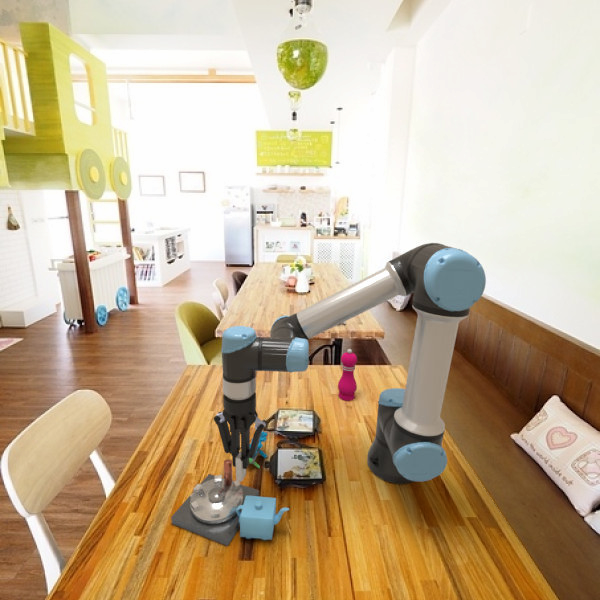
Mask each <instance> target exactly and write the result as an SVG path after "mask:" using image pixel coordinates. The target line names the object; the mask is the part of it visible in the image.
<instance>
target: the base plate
mask: <svg viewBox="0 0 600 600" xmlns="http://www.w3.org/2000/svg"><path fill="white" fill-rule="evenodd" d="M215 476H216V475H214V474H210V473H209V474H207V475H206V477H205V478H204V479H203V480H202V481H201V482H200V483H199V484H200V485H201V484H203V483H204V482H206V481H209V480H212V479H214V477H215ZM241 488H242V491H243V503H242V505H243V504H244V501H245V497H246V495H248V496H260V490H259V489H256V488H253V487H250V486H248V485H244V484H241ZM192 494H193V492H192V493H191V494H190V495H189V496H188V497H187V499H185V501H183V503H182V504H181V505H180V506H179V507H178V508H177V510H176V511H175V512H174V513H173V514H172V516H171V517H170V518H171V524H172V525H173V526H176V527H179V528H180V529H183V530H186V531H189V532H192V533H194V534H197V535H198V536H201V537H203V538H206V539H208V540H211V541H214V542H216V543H218V544H221V545H224V546H225V547H228V546H229V544H230V543H231V542H232V540H233V538H234V537H235V536H236V534H237V532H238V531H239V530H240V528H239V527H240V523H239V518H240V517H239V516H238V515H237V514H236V515H235V516H233V517H232V518H230V519H229V520H227V521H224V522H221V523H216V524H208V523H203V522H201V521H199V520H197V519H196V518H195V517H194V516H193V514H192V512H191V507H190V499H191V496H192ZM239 511H240V513H241V512H242V509H240V510H239Z"/></svg>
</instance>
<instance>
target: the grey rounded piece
mask: <svg viewBox="0 0 600 600" xmlns="http://www.w3.org/2000/svg"><path fill="white" fill-rule="evenodd" d="M223 473H224V474H223V475H222V474H219V475H218V474H217V475H214V476H215V477H214V479H212V480H209V481H206V482H204V483H203V484H201V483H197V484H196V485H195V486H194V487H193V492H192V493H193V494H192V493H191V494H192V496H191V499H190V507H191V512H192V514H193V516H194V517H195V518H196V519H197V520H199V521H201V522H203V523H208V524H216V523H221V522H224V521H227V520H229V519H230V518H232V517H233V516H235V515H236V514H237V512H236V510H237V507H238V506H240V505H242V503H243V491H242V488H241V485H242V484H241V482H240V481H236V480H233V462H232V459H225V460H224V461H223ZM223 476H224V477H223ZM200 484H201V485H200Z"/></svg>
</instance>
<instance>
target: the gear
mask: <svg viewBox="0 0 600 600" xmlns="http://www.w3.org/2000/svg"><path fill="white" fill-rule="evenodd" d="M267 438H268V432H265V431H264V430H262V433H261V437H260V440H259V444H258V448H257V451H256V453H255V455H254V456H253V458H249V465H254V466H255V467H256V468H257V469H260V467H261V465H259V463H257V462H256V460H257V457H258V455H259V454H260V456H262V457H263V458H264V459H266V458H267V457H268V455H267V453H265V452H264V451H263V450H262V448H263V447H264V446H263V445H264V444H262V443H265V442H266V441H267ZM252 440H253V438H251V442H250V447H251V443H252Z"/></svg>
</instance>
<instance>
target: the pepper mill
mask: <svg viewBox="0 0 600 600" xmlns="http://www.w3.org/2000/svg"><path fill="white" fill-rule="evenodd" d="M340 361H341V363H342V364H341V369H342V374H341V377H340V379H339V380H338V382H337V389H338V398H339V399H340V400H342V401H344V402H350V401H351V402H352V401H353V400H355V398H356V397H355V396H356V393H355V392H356V391H357V387H358V386H357V385H358V384H357V382H356V379H355V378H356V377H355V374H354V372H355V370H356V364H357V362H358V357H357V355H356V354H355V353H354V352H353V351H352V349H351V348H348V349H347V351H346V352H344V353H343V354H342V355H341V358H340Z"/></svg>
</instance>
